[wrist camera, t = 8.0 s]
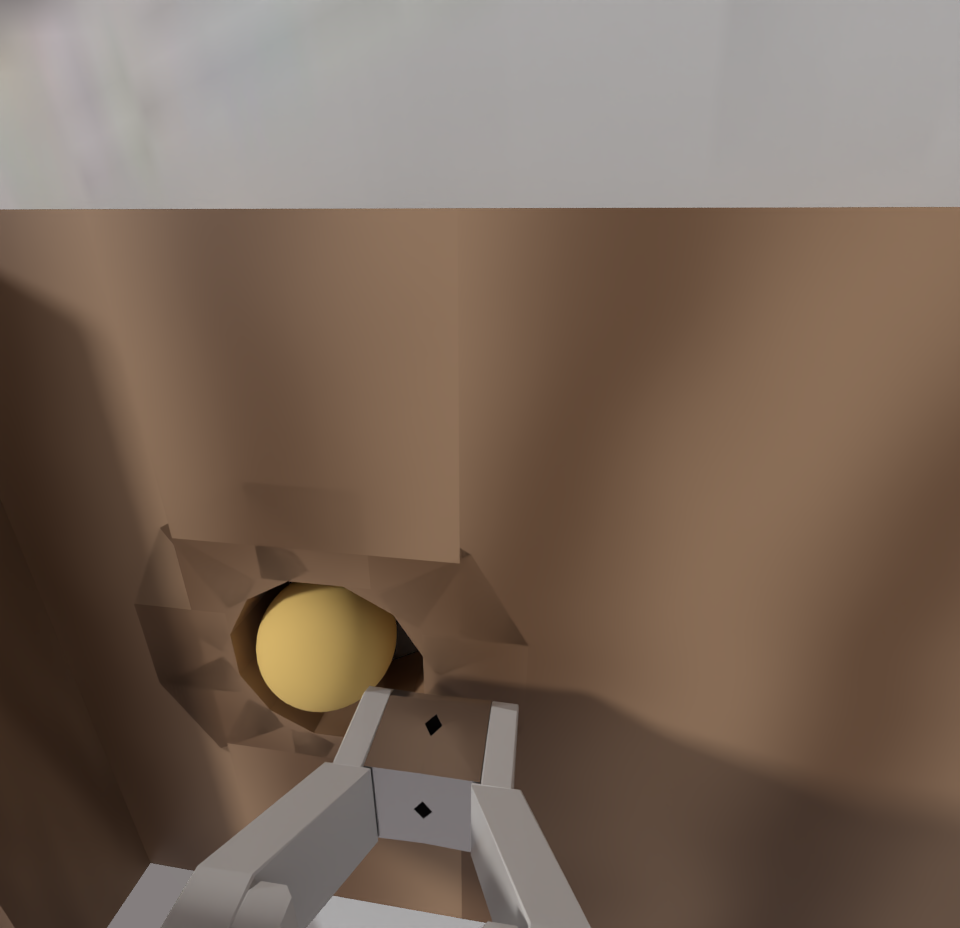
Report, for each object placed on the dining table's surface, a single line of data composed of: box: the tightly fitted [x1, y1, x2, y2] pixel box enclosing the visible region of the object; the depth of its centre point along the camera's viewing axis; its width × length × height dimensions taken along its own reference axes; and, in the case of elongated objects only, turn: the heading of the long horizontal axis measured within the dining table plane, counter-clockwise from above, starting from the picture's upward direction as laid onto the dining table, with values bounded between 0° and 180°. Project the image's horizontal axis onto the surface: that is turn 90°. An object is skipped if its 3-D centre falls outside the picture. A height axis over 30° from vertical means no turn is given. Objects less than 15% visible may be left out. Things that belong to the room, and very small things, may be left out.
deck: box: [0, 207, 960, 928], centre depth 10 cm, size 28×18×6 cm, turn 89°
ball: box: [256, 582, 397, 712], centre depth 12 cm, size 3×3×3 cm
